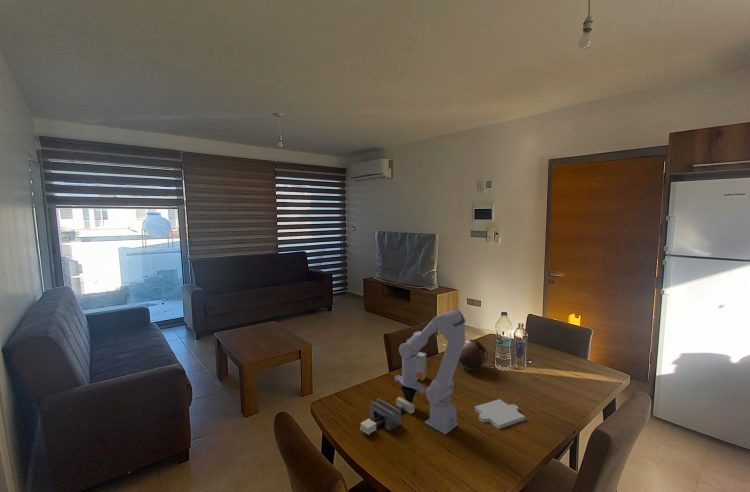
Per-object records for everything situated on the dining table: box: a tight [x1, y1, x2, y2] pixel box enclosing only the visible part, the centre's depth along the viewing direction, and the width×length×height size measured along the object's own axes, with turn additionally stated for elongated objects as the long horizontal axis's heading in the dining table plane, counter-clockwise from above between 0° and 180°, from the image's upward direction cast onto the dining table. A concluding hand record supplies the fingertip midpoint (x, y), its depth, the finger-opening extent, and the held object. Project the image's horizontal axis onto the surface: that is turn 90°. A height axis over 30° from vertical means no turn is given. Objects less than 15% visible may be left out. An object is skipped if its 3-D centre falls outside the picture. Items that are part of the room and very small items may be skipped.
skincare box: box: [416, 351, 427, 381], centre depth 159 cm, size 6×4×12 cm
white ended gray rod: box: [359, 396, 416, 436], centre depth 126 cm, size 8×24×3 cm, turn 133°
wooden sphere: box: [458, 339, 489, 372], centre depth 167 cm, size 15×15×15 cm
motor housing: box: [369, 398, 402, 432], centre depth 126 cm, size 11×6×6 cm, turn 43°
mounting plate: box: [474, 398, 526, 430], centre depth 129 cm, size 18×13×2 cm
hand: (409, 403), depth 135 cm, fingers closed, pressing on white ended gray rod
